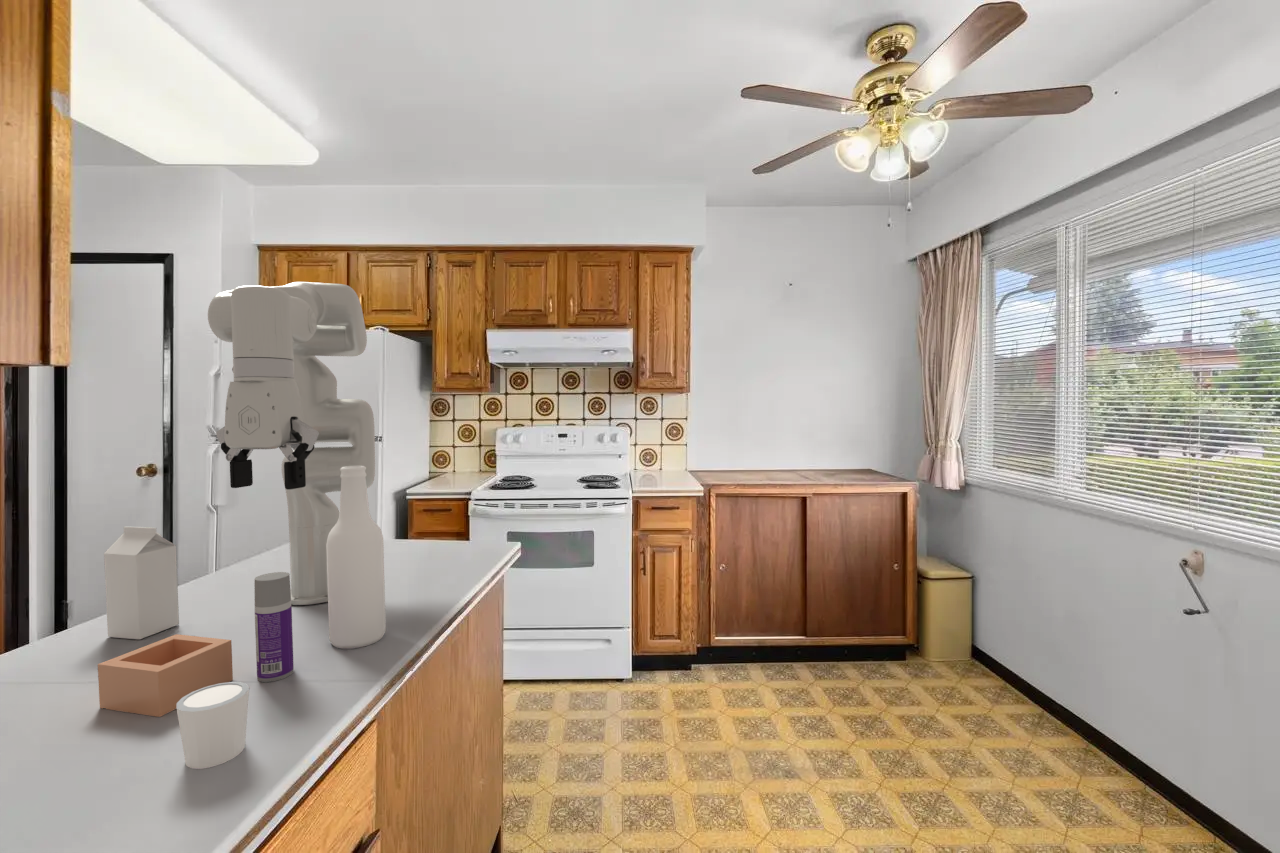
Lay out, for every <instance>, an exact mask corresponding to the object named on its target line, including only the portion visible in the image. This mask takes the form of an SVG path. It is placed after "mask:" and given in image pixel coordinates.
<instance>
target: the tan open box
mask: <svg viewBox="0 0 1280 853" xmlns="http://www.w3.org/2000/svg"><path fill="white" fill-rule="evenodd" d="M233 673H234V672H233V648H232V639H223V638H217V637H207V636H196V635H188V634H179V633H178V634H177V633H176V634H173V635H171V636H170V635H169V636H168V637H166V638H162V639H159V640H158V641H155V642H151V643H149V644H148V645H145V646H142V647H140V648H137V649H135V650H131V651H128V652H126V653H123V654H121V655H119V656H118V655H117V656H116V657H112V658H111V659H108V660H106V661H102V662H100V663H97V674H98V676H97V678H98V698H99V708H100V709H103V708H106V709H105V710H109V711H117V712H124V713H130V714H131V713H132V714H138V715H142V716H143V715H144V716H150V717H151V716H152V717H155V718H158V717H159V718H161V717H163V716H165V715H168V713H171V712H173V711H174V710H177V708H176V706H177V702H178V701H179V700H180V699H181V698H182V697H184V696H186V695H188V694H189V693H191V692H193V691H196V690H198V689H201V688H204V687H207V686H211V685H215V684H219V683H227V682H233V681H234V674H233Z"/></svg>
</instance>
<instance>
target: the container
mask: <svg viewBox="0 0 1280 853" xmlns="http://www.w3.org/2000/svg"><path fill="white" fill-rule="evenodd" d="M292 607H293V606H292V605H291V574H290V573H289V572H287V571H277V572H275V571H274V572H267V573H264V574H261V575H258V576H255V577H254V629H255V658H256V679H257V681H259V682H261V683H262V682H263V683H269V682H270V683H271V682H275V681H279V680H284V679H286V678H287V677H289V676H291V675H292V674H293V673H294V671H295V670H294V642H293V637H294V636H293V615H292V614H293V613H292V612H293V611H292V609H293V608H292Z"/></svg>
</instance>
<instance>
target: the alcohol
mask: <svg viewBox="0 0 1280 853" xmlns="http://www.w3.org/2000/svg"><path fill="white" fill-rule="evenodd" d="M365 470H366V467H365V466H345V467H342V468H341V469H340V471H341V475H340V477H341V491H340V497H339V498H340V499H339V518H338V522H337V523H336V524H335V526H334V527H333V528H332V529H331V531H330V532H329V535H328V539H327V543H326V549H327V581H328V603H327V605H328V606H327V609H328V636H329V637H328V638H329V642H330V643H331V645H333V646H334V647H335V648H338V649H341V650H346V649H347V650H352V649H358V648H359V649H360V648H364V647H369V646H371V645H373V644H375V643H377V642H379V641H380V640H382V638H383V637H384V635H385V634H386V632H387V624H386V623H387V622H386V621H387V620H386V618H387V617H386V592H385V590H386V589H385V588H386V585H385V583H386V582H385V553H384V551H385V550H384V548H385V547H384V535H383V531H382V529H381V527H380V526H379V525H378V524H377V522H376V521H375V520H373V518H372V515H371V513H370V504H369V497H368V488H367V486H366V478H365V477H366V473H365Z"/></svg>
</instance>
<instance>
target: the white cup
mask: <svg viewBox="0 0 1280 853" xmlns="http://www.w3.org/2000/svg"><path fill="white" fill-rule="evenodd" d="M249 696H250V687H249V684H247V683H245V682H242V681H230V682H227V683H219V684H215V685H211V686H207V687H204V688H201V689H198V690H196V691H193V692H191V693H189V694H188V695H186V696H184V697H182V698H181V699H180V700H179V701H178V702H177V706H176V708H177V709H176V713H177V719H178V720H177V721H178V725H179V731H180V738H181V743H182V749H183V757H184V761H185V762H184V763H185V766H186V767H188V768H189V769H197V770H202V769H208V768H213V767H216V766H219V765H222V764H224V763H228V762H229V761H231V760H233V759H235V758H236V757H237V756H238V755H240V754H241V753H242V752H243V751H244V749H245V748H246V737H247V723H248V711H249V709H248V708H249Z"/></svg>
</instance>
